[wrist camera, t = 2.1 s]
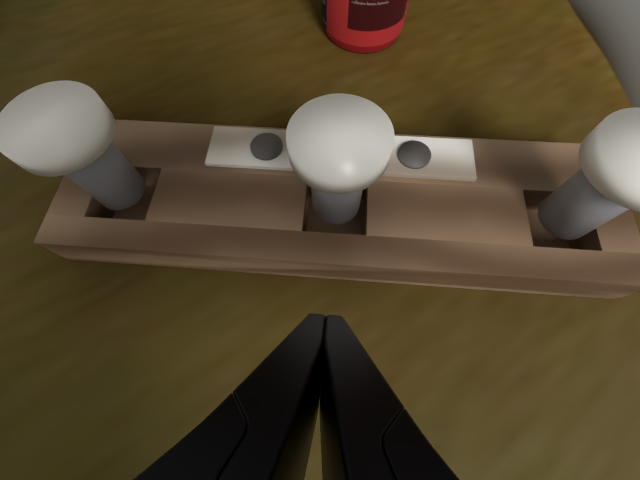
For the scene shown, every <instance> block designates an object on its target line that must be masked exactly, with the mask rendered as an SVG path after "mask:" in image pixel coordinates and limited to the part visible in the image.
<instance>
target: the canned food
mask: <svg viewBox="0 0 640 480" xmlns="http://www.w3.org/2000/svg"><path fill="white" fill-rule="evenodd" d="M408 2H409V0H322V21H323V24H324V28H325V31H326V34H327V36H328V37H329V39H330V40H331V41H332V42H333V43H335V44H336V45H337V46H339V47H341V48H343V49H345V50H348V51H351V52H357V53H373V52H377V51H381V50H384V49H386V48H388V47H389V46H391V45H392V44H393V43H394V42H395V41H396V40H397V38H398V36H399V34H400V32H401V30H402V28H403V25H404V20H405V16H406V11H407V7H408Z"/></svg>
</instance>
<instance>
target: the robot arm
mask: <svg viewBox="0 0 640 480" xmlns="http://www.w3.org/2000/svg"><path fill="white" fill-rule="evenodd" d="M320 388H321V389H320ZM319 400H320V432H321V454H322V476H323V480H459V479H458V477H457V476H456V475H455V474H454V473H453V471H452V470H451V469H450V468H449V467H448V465H447V464H446V463H445V462H444V460H443V459H442V458H441V457H440V455H439V454H438V453H437V452H436V450H435V449H434V448H433V447H432V446H431V444H430V443H429V442H428V440H427V439H426V437H425V436H424V435H423V433H422V432H421V430H420V429H419V428H418V426H417V425H416V424H415V422H414V421H413V419H412V418H411V416H410V415H409V413H408V412H407V410H406V409H404V406H403V405H402V403H401V402H400V400H399V399H398V397H397V396H396V394H395V393H394V392H393V390H392V389H391V387H390V386H389V384H388V383H387V381H386V380H385V378H384V377H383V375H382V374H381V372H380V371H379V370H378V368H377V367H376V365H375V364H374V362H373V361H372V359H371V358H370V356H369V355H368V353H367V352H366V350H365V349H364V348H363V346H362V345H361V343H360V342H359V340H358V339H357V337H356V336H355V334H354V333H353V331H352V330H351V329H350V327H349V326H348V324H347V323H346V321H345V320H344V318H343V317H342V316H335V315H327V316H326V319H325V315H322V314H309V315H308V316H307V317H306V318H305V319H304V320H303V321H302V322H301V323H300V324H299V325H298V326H297V327H296V328H295V329H294V330H293V331H292V332H291V333H290V334H289V335H288V336H287V337H286V338H285V339H284V340H283V341H282V342H281V343H280V344H279V345H278V346H277V347H276V348H275V349H274V350H273V351H272V352H271V353H270V354H269V355H268V356H267V357H266V358H265V359H264V360H263V361H262V363H261V364H260V365H259V366H258V367H257V368H256V369H255V370H254V371H253V372H252V373H251V374H250V375H249V376H248V377H247V378H246V379H245V380H244V381H243V382H242V383H241V384H240V385H239V386H238V387H237V388H236V389H235V390H234V391H233V394H230V395H229V396H228V397H227V398H226V399H225V400H224V401H223V402H222V403H221V404H220V405H219V406H218V407H217V408H216V409H215V410H214V411H213V412H212V413H211V414H210V415H209V416H208V417H206V418H205V419H204V420H203V421H202V422H201V423H200V424H199V425H198V426H197V427H196V428H194V429H193V430H192V431H191V432H190V433H189V434H187V435H186V436H185V437H184V438H183V439H182V440H181V441H179V442H178V443H177V444H176V445H175V446H173V447H172V448H171V449H170V450H169V451H167V452H166V453H165V454H164V455H163V456H161V457H160V458H159V459H158V460H156V461H155V462H154V463H153V464H152V465H150V466H149V467H148V468H147V469H146V470H144V471H143V472H142V473H141V474H140V475H138V476H137V477H136V478H135V479H133V480H304V477H305V472H306V468H307V463H308V458H309V453H310V448H311V443H312V438H313V433H314V429H315V424H316V419H317V413H318V408H319Z"/></svg>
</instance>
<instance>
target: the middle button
mask: <svg viewBox="0 0 640 480" xmlns="http://www.w3.org/2000/svg"><path fill="white" fill-rule="evenodd" d="M394 140H395V135H394V129H393V125H392V123H391V121H390V119H389V117H388V116H387V114H386V113H385V112H384V111H383V110H382V109H381V108H380V107H379V106H377V105H376V104H375V103H373V102H371V101H369V100H367V99H365V98H362V97H359V96H356V95H351V94H328V95H323V96H320V97H317V98H315V99H312V100H310V101H308V102H307V103H305V104H304V105H302V106H301V107H300V108H299V109H298V110H297V111H296V112H295V113H294V114H293V115H292V117H291V119H290V120H289V123H288V125H287V129H286V144H287V150H288V156H289V161H290V165H291V167H292V169H293V171H294V172H295V174H296V175H297V176H298V177H299V179H300V180H302V181H303V182H304V183H305V184H307V185H308V186H310V187H311V192H312V205H313V210H314V212H315V214H316V215H317V217H318V218H320V219H321V220H322V221H324V222H326V223H329V224H334V225H338V224H344V223H347V222H349V221H350V220H352V219H353V218H354V217H355V216H356V214H357V213H358V211H359V207H360V202H361V196H362V191H363V190H364V189H366V188H368V187H370V186H371V185H373V184H374V183H375V182H376V181H378V180H379V179H380V177H381V176H382V175H383V174H384V172H385V171H386V169H387V166H388V164H389V160H390V157H391V153H392V150H393V146H394Z"/></svg>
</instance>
